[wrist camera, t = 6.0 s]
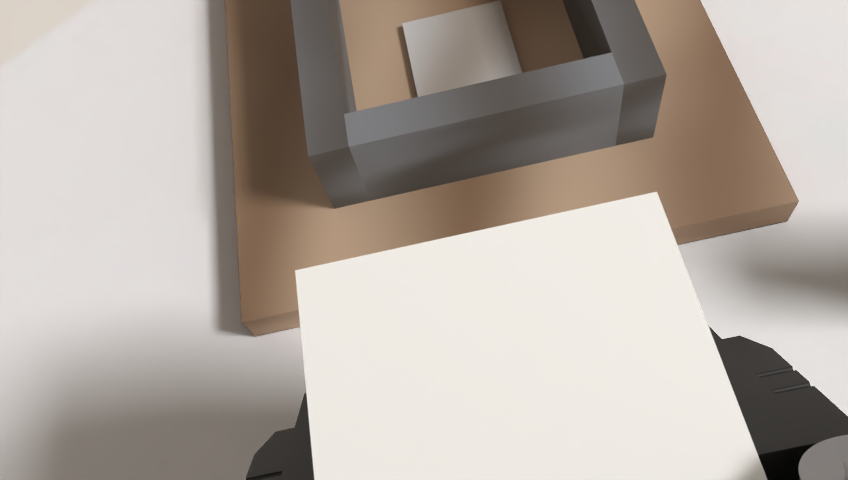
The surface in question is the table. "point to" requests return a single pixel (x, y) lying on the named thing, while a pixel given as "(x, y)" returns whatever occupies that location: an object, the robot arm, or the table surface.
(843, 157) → the table surface
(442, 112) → the docking plate
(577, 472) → the pale green tall block
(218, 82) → the table surface
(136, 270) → the table surface
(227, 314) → the table surface
